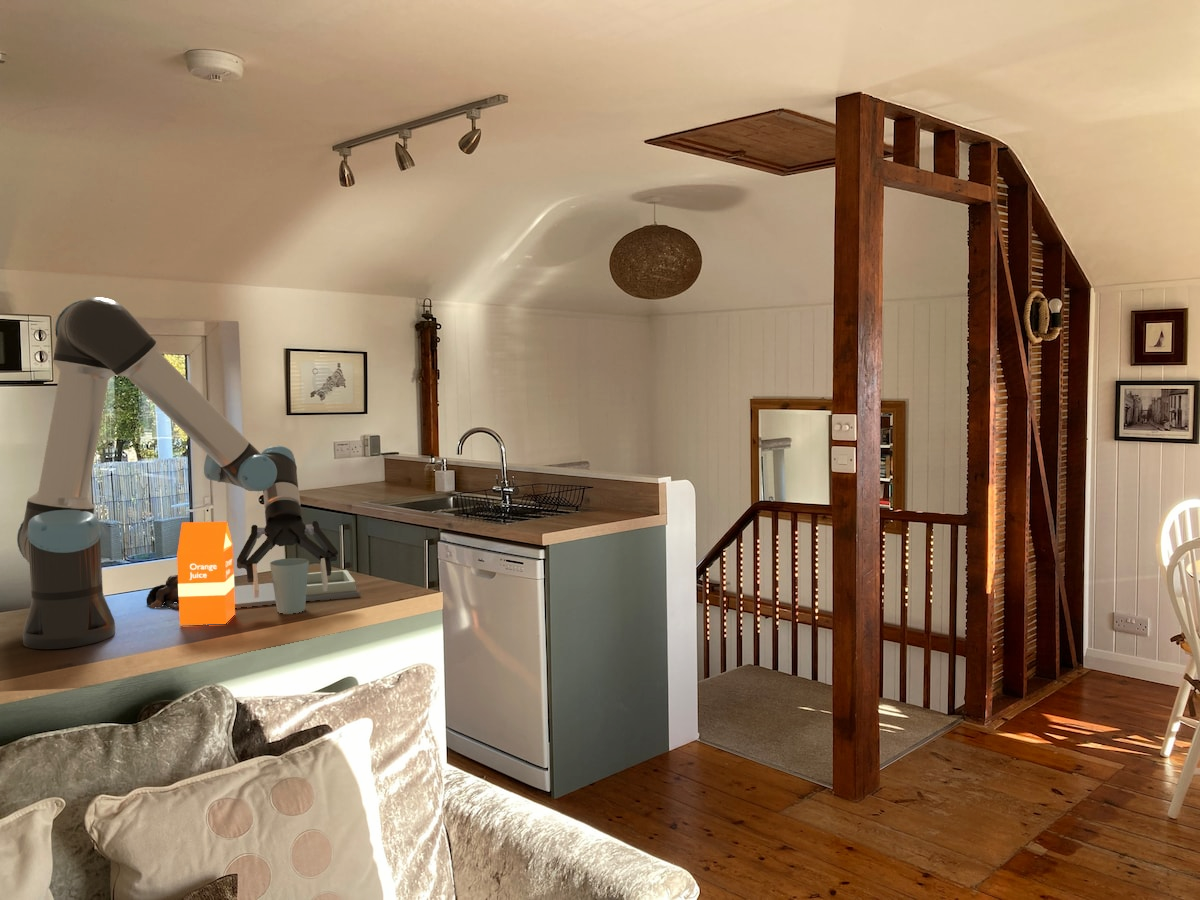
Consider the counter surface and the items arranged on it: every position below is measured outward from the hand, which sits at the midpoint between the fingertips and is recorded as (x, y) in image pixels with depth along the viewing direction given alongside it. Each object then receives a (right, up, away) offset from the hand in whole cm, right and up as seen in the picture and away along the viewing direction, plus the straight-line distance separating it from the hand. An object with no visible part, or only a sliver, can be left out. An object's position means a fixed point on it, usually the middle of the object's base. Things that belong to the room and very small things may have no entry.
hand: (291, 591), depth 194 cm
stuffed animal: (-29, -4, +10) cm, 31 cm away
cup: (-1, -5, +3) cm, 5 cm away
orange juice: (-15, -5, -5) cm, 17 cm away
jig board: (-5, -3, +17) cm, 18 cm away
